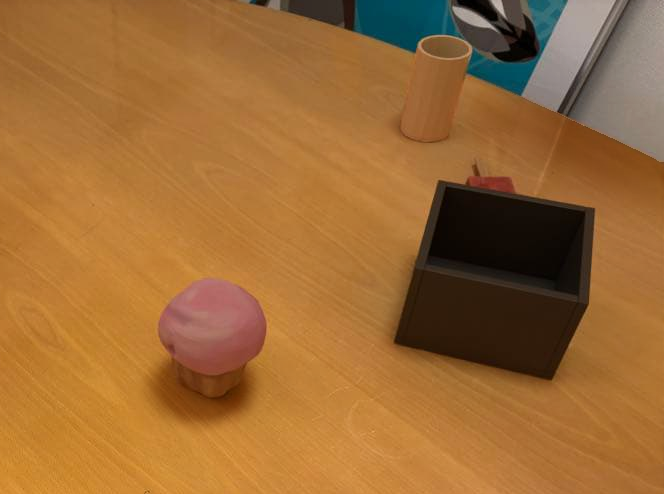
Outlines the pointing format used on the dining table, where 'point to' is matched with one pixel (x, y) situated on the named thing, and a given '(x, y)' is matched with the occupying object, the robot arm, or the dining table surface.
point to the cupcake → (212, 334)
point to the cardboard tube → (435, 87)
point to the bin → (499, 279)
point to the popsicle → (489, 179)
